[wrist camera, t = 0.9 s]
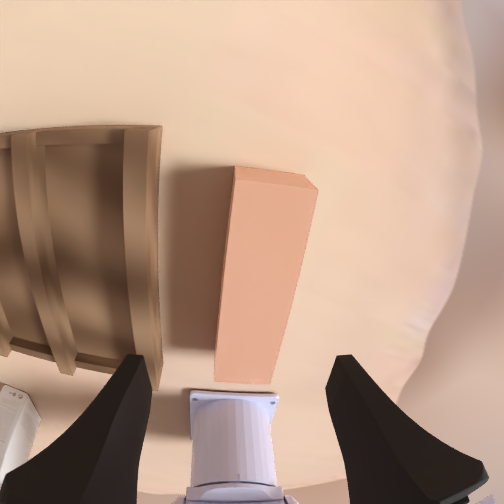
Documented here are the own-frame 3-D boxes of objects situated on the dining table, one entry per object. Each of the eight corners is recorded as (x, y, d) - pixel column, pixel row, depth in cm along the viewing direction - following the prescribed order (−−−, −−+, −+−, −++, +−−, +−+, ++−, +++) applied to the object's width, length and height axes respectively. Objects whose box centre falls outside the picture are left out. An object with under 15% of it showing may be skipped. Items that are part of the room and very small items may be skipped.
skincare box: (3, 382, 25) (-33, 457, 15) (30, 393, 26) (-3, 475, 15) (18, 410, 28) (-9, 479, 17) (44, 420, 29) (20, 494, 18)
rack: (163, 363, 24) (157, 391, 21) (11, 333, 22) (-2, 354, 19) (162, 126, 16) (148, 130, 13) (-30, 137, 14) (-56, 146, 11)
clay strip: (265, 351, 24) (269, 384, 21) (214, 347, 23) (213, 381, 20) (302, 174, 18) (318, 190, 15) (234, 164, 17) (235, 179, 14)
